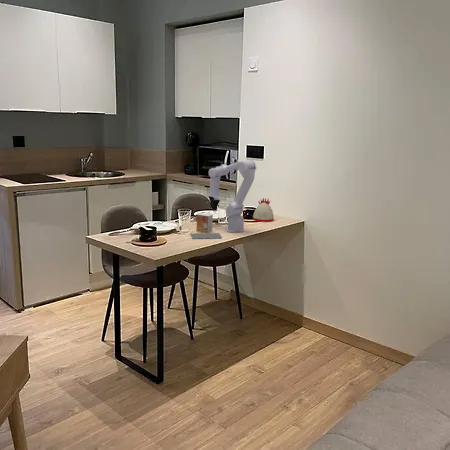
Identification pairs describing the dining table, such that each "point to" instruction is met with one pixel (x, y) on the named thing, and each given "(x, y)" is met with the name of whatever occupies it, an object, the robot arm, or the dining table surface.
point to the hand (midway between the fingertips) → (213, 209)
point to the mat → (206, 236)
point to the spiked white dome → (263, 212)
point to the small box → (204, 222)
